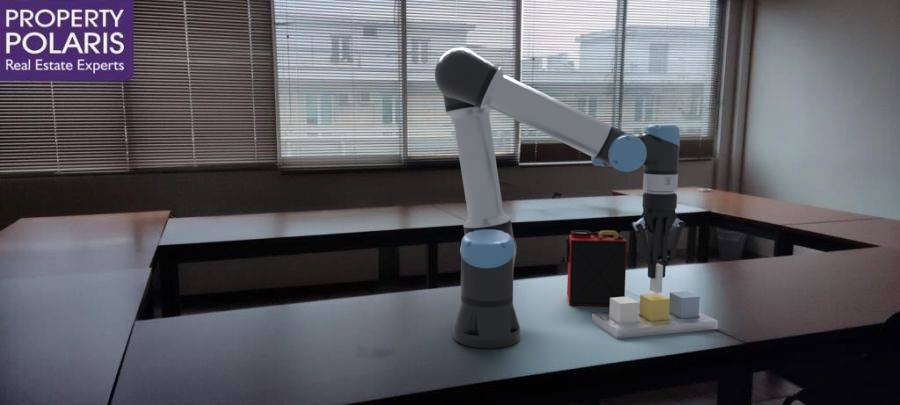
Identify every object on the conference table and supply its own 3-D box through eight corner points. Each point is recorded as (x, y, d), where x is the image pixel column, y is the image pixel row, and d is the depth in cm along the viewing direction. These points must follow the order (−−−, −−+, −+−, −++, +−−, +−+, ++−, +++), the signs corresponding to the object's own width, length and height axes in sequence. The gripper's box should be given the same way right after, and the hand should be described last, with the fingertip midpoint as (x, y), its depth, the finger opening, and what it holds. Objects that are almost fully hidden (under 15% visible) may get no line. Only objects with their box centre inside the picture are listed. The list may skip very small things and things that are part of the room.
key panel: (617, 338, 134) (617, 329, 133) (591, 321, 145) (592, 313, 145) (717, 329, 140) (718, 320, 139) (685, 313, 151) (686, 305, 151)
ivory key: (619, 324, 137) (620, 303, 137) (609, 318, 142) (610, 297, 141) (638, 323, 139) (639, 302, 138) (627, 316, 143) (628, 296, 143)
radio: (619, 296, 166) (622, 225, 163) (626, 307, 156) (629, 232, 153) (561, 295, 167) (563, 224, 165) (565, 306, 157) (567, 231, 155)
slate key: (680, 318, 141) (681, 298, 141) (668, 312, 146) (669, 292, 145) (698, 317, 142) (699, 296, 142) (686, 310, 147) (687, 291, 146)
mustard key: (650, 321, 139) (651, 300, 139) (639, 314, 144) (640, 294, 143) (668, 319, 140) (669, 299, 140) (657, 313, 145) (658, 293, 144)
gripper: (643, 194, 133) (639, 297, 136) (694, 192, 136) (689, 293, 139) (626, 191, 140) (622, 288, 143) (675, 189, 143) (670, 285, 146)
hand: (655, 291), depth 141 cm, fingers closed
